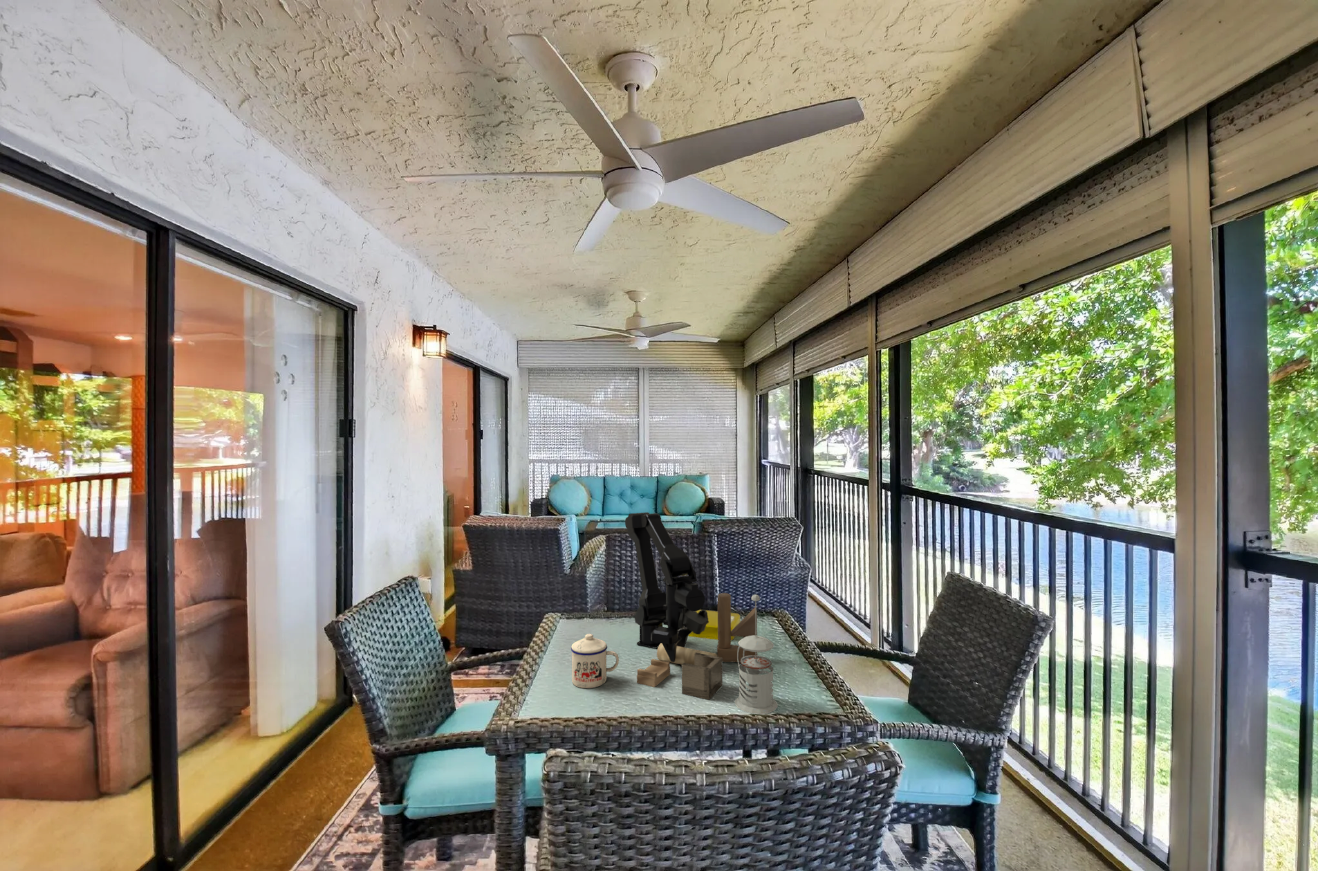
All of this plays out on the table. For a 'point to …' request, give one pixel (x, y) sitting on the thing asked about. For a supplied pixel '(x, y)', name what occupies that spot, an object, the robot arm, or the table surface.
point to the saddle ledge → (653, 673)
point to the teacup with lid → (590, 662)
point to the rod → (680, 655)
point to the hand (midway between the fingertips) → (676, 658)
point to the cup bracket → (702, 676)
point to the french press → (755, 675)
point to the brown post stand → (725, 633)
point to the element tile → (715, 625)
